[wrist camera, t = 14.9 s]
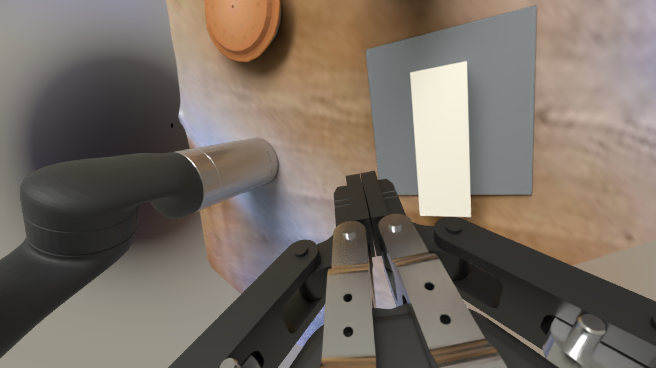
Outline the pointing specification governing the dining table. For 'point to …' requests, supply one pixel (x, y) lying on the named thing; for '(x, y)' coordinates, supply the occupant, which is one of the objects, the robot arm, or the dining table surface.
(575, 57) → the dining table surface
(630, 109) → the dining table surface
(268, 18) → the pie
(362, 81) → the dining table surface
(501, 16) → the mat
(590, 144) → the dining table surface
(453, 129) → the tall cream block
